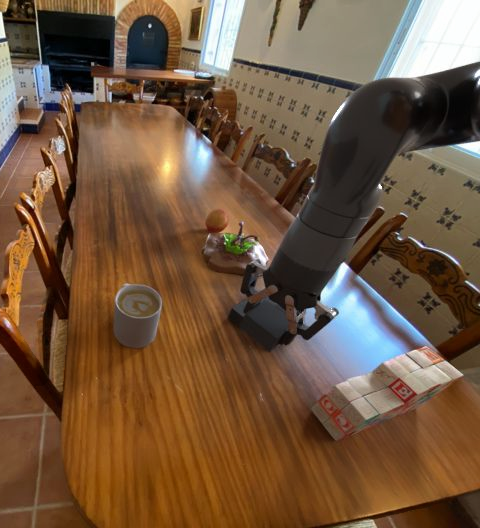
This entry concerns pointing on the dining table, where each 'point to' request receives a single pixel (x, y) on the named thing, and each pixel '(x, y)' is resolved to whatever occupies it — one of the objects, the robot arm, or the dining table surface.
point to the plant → (232, 251)
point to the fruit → (216, 221)
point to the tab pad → (265, 324)
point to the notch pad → (238, 314)
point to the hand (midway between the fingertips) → (265, 328)
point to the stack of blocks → (384, 392)
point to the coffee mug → (136, 315)
